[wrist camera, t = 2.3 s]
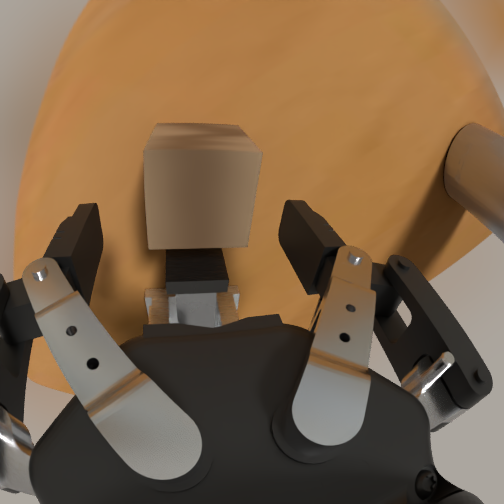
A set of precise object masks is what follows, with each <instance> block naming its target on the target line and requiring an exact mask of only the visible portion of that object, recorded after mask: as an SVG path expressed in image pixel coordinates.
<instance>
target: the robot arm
mask: <svg viewBox="0 0 504 504" xmlns="http://www.w3.org/2000/svg"><path fill="white" fill-rule="evenodd" d="M444 183H445V188H446V191H447V193H448V194H449V196H450V197H451V198H453V199H454V200H455V201H457V202H458V203H459V204H460V205H462V206H463V207H464V208H465V209H466V210H468V211H469V212H470V213H471V214H472V215H474V216H475V217H476V218H477V219H478V220H479V221H480V222H482V223H483V224H484V225H485V226H486V227H487V228H488V229H489V230H491V231H492V232H493V233H494V234H495V235H496V236H497V237H498V238H499V239H500V240H501V241H502V242H503V243H504V137H503V136H501V135H499V134H497V133H495V132H493V131H491V130H489V129H487V128H485V127H483V126H481V125H479V124H476V123H472V124H468V125H467V126H465V127H464V128H463V129H462V130H460V132H459V133H458V134H457V136H456V137H455V139H454V141H453V142H452V144H451V147H450V149H449V152H448V155H447V159H446V163H445V169H444ZM278 236H279V242H280V245H281V247H282V248H283V250H284V252H285V254H286V256H287V258H288V259H289V261H290V263H291V265H292V267H293V269H294V270H295V272H296V274H297V276H298V278H299V280H300V282H301V283H302V285H303V287H304V289H305V291H306V293H307V295H312V294H319V295H320V298H319V300H318V302H317V305H316V308H315V311H314V314H313V317H312V320H311V323H310V326H309V328H308V330H306V329H304V328H301V327H298V326H294V325H289V324H283V323H282V320H281V318H280V316H279V314H273V315H265V316H256V317H247V318H244V319H241V320H238V321H235V322H232V323H229V324H225V325H222V326H219V327H214V328H211V327H203V326H195V325H188V324H181V323H168V324H145V325H143V335H141V336H138V337H135V338H133V339H130V340H128V341H126V342H125V343H123V344H121V345H120V346H118V345H117V344H116V342H115V341H114V340H113V339H112V337H111V336H110V335H109V334H108V332H107V331H106V330H105V328H104V327H103V326H102V324H101V323H100V322H99V320H98V319H97V318H96V316H95V315H94V314H93V312H92V311H91V309H90V308H89V303H90V298H91V294H92V290H93V285H94V281H95V277H96V273H97V269H98V265H99V262H100V258H101V254H102V251H103V234H102V228H101V222H100V216H99V210H98V205H97V204H96V203H88V204H79V206H78V207H77V209H76V211H75V213H74V214H73V216H72V217H68V218H67V219H65V220H64V221H63V222H62V223H61V224H60V226H59V227H58V229H57V231H56V233H55V235H54V237H53V239H52V240H51V242H50V244H49V246H48V248H47V250H46V252H45V254H44V256H43V258H40V259H37V260H35V261H33V262H32V263H30V264H29V265H28V266H27V267H26V268H25V270H24V272H23V275H22V278H21V279H18V280H15V281H12V282H8V283H6V282H5V280H4V278H3V276H2V274H0V489H1V490H4V491H7V492H11V493H19V492H23V493H26V494H30V495H34V496H36V497H37V499H38V501H39V502H40V504H484V503H483V502H482V501H481V500H480V499H479V498H478V497H477V496H475V495H474V494H472V493H470V492H467V491H465V490H462V489H460V488H458V487H456V486H455V485H453V484H451V483H450V482H448V481H447V480H445V479H444V478H443V477H442V476H441V475H440V474H439V473H438V471H437V470H436V468H435V465H434V462H433V457H432V451H431V442H430V432H435V431H438V430H439V429H441V428H442V427H444V426H445V425H447V424H448V423H450V422H452V421H453V420H454V419H456V418H457V417H459V416H460V415H461V414H463V413H464V412H466V411H467V410H468V409H470V408H471V407H473V406H474V405H475V404H476V403H478V402H479V401H480V400H481V399H483V398H484V397H485V396H487V395H488V394H489V393H490V392H491V390H492V386H493V382H492V377H491V374H490V372H489V370H488V368H487V366H486V365H485V363H484V361H483V360H482V358H481V356H480V355H479V353H478V352H477V350H476V348H475V347H474V345H473V344H472V342H471V341H470V339H469V337H468V336H467V334H466V333H465V331H464V330H463V328H462V327H461V326H460V324H459V323H458V321H457V320H456V318H455V317H454V315H453V314H452V313H451V311H450V310H449V309H448V307H447V306H446V304H445V303H444V302H443V300H442V299H441V298H440V296H439V295H438V294H437V293H436V291H435V290H434V289H433V287H432V286H431V285H430V283H429V282H428V281H427V280H426V278H425V277H424V276H423V275H422V273H421V272H420V271H419V270H418V269H417V267H416V266H415V265H414V264H413V263H412V262H411V261H410V260H408V259H407V258H405V257H402V256H399V255H392V256H390V257H389V259H388V261H387V263H386V265H384V264H379V263H373V262H372V259H371V258H370V256H369V255H368V254H367V253H366V252H365V251H363V250H361V249H359V248H357V247H354V246H347V245H346V244H345V243H344V242H343V240H342V239H341V238H340V237H339V236H338V234H337V233H336V232H335V231H333V228H332V227H331V226H330V225H329V224H328V222H327V221H326V220H325V219H324V218H323V217H322V216H320V215H319V214H317V213H316V212H314V211H313V210H312V209H311V208H310V207H309V206H308V204H307V203H306V202H305V201H303V200H287V201H286V202H285V205H284V209H283V214H282V218H281V223H280V227H279V234H278ZM402 300H403V301H404V303H405V304H406V306H407V307H408V308H409V310H410V312H411V315H412V320H411V324H410V325H409V326H408V327H407V326H406V324H405V323H404V321H403V320H402V318H401V316H400V315H399V313H398V312H397V310H396V309H397V308H398V306H399V304H400V303H401V301H402ZM373 331H374V333H375V335H376V336H377V338H378V340H379V342H380V344H381V346H382V348H383V349H384V351H385V353H386V355H387V357H388V359H389V361H390V363H391V365H392V367H393V368H394V371H395V372H396V374H397V376H398V379H399V381H400V383H401V387H400V386H398V385H396V384H395V383H393V382H391V381H390V380H388V379H386V378H385V377H383V376H381V375H380V374H378V373H376V372H375V371H373V370H372V369H370V368H368V364H369V357H370V350H371V343H372V334H373ZM41 336H44V338H45V340H46V342H47V344H48V347H49V349H50V350H51V352H52V354H53V356H54V358H55V360H56V362H57V364H58V366H59V367H60V369H61V371H62V373H63V374H64V376H65V378H66V380H67V381H68V383H69V385H70V386H71V388H72V389H73V391H74V393H75V396H74V397H73V398H72V399H71V401H70V402H69V403H68V404H67V405H66V407H65V408H64V409H63V410H62V412H61V413H60V414H59V415H58V417H57V418H56V419H55V420H54V422H53V423H52V424H51V425H50V427H49V428H48V429H47V430H46V432H45V433H44V434H43V436H42V437H41V438H40V439H39V441H38V442H37V443H36V445H35V447H34V444H33V443H32V441H31V436H30V433H29V430H28V429H27V427H26V426H25V425H24V424H23V418H24V401H25V389H26V381H27V373H28V366H29V360H30V354H31V348H32V343H33V339H34V338H37V337H41Z"/></svg>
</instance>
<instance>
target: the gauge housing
mask: <svg viewBox="0 0 504 504" xmlns="http://www.w3.org/2000/svg"><path fill="white" fill-rule="evenodd" d="M239 295H240V293H239V289H238V286H228V292H221V293H217V294H216V308H215V323H214V327H219V326H222V325H225V324H229V323H232V322H235V321H238V320H239V317H238V313H237V308H238V301H239ZM145 301H146V306H147V312H148V317H149V323H148V324H168V323H178V319H177V307H176V294H173V295H167V292H166V289H145Z"/></svg>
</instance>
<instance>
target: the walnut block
mask: <svg viewBox="0 0 504 504" xmlns="http://www.w3.org/2000/svg"><path fill="white" fill-rule="evenodd" d="M262 155H263V152H262V151H261V150H260V149H259V148H258V147H257V146H256V145H255V143H254V142H253V141H252V140H251V139H250V138H249V137H248V136H247V135H246V133H245V132H244V131H243V130H242V129H241V128H240V127H239V126H238V125H225V124H203V123H157V124H156V126H155V128H154V130H153V132H152V134H151V136H150V138H149V140H148V142H147V144H146V146H145V148H144V191H145V210H146V224H147V237H148V247H149V250H152V249H192V248H235V247H248V241H249V235H250V229H251V222H252V216H253V210H254V204H255V197H256V191H257V185H258V179H259V173H260V167H261V161H262Z"/></svg>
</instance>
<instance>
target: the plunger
mask: <svg viewBox="0 0 504 504" xmlns="http://www.w3.org/2000/svg"><path fill="white" fill-rule="evenodd" d="M228 283H229V278H228V274H227V270H226V266H225V261H224V257H223V253H222V248H192V249H166V292H167V295H173V294H176V307H177V319H178V323H181V324H188V325H195V326H203V327H211V328H214V323H215V308H216V294H217V293H221V292H228Z"/></svg>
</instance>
